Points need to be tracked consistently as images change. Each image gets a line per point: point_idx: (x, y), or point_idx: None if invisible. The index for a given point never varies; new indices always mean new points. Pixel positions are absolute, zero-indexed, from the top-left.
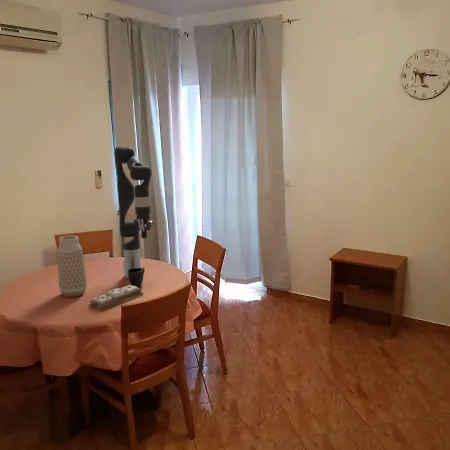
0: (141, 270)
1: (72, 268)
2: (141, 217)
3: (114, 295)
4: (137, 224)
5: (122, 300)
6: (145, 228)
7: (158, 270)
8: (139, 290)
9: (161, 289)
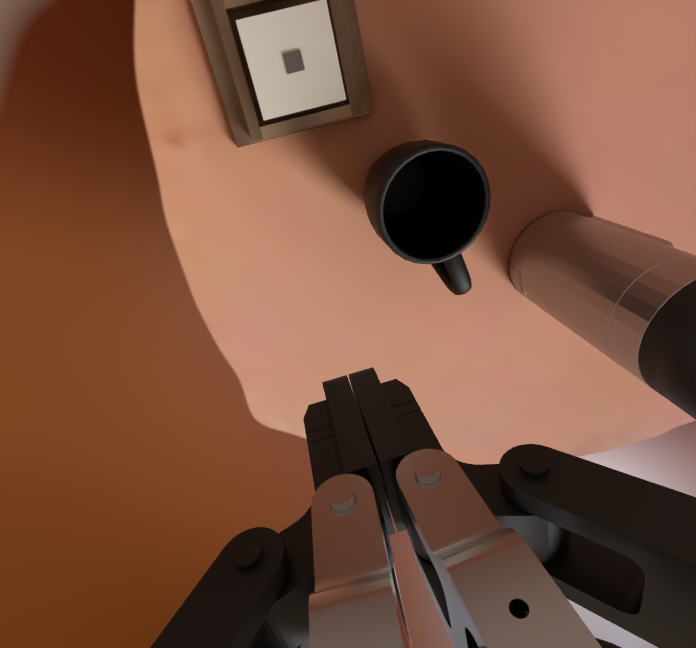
0: (424, 254)
1: None
2: None
3: None
4: (663, 561)
5: None
6: (248, 594)
7: (518, 397)
8: (247, 124)
9: (249, 277)
